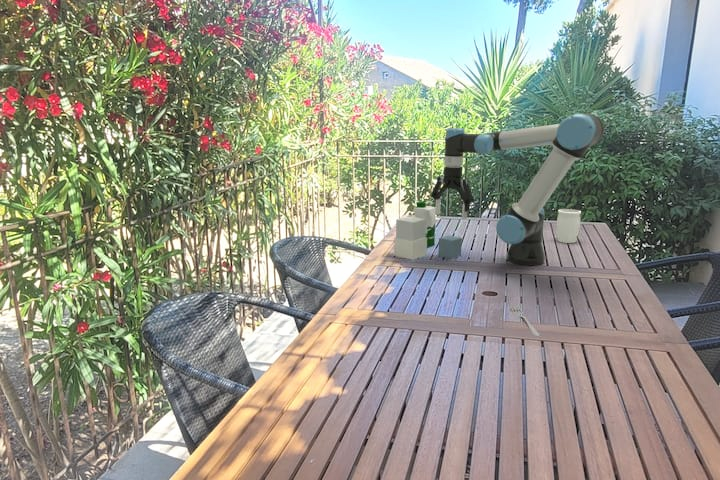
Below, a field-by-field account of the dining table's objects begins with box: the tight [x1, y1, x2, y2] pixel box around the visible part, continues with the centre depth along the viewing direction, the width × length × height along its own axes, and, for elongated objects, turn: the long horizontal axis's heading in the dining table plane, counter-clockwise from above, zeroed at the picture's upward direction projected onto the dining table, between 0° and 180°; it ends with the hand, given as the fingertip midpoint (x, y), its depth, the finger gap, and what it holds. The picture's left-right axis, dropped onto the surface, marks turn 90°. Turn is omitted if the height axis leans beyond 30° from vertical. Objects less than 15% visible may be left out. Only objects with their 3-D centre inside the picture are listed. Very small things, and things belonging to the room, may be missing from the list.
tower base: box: [393, 236, 428, 260], centre depth 221 cm, size 10×10×8 cm
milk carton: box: [413, 201, 437, 249], centre depth 236 cm, size 9×9×20 cm
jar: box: [556, 208, 582, 244], centre depth 244 cm, size 11×10×15 cm
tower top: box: [395, 216, 426, 241], centre depth 219 cm, size 9×9×8 cm
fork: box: [510, 303, 540, 337], centre depth 151 cm, size 3×24×2 cm, turn 2°
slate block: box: [437, 235, 463, 260], centre depth 220 cm, size 7×7×8 cm
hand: (450, 216), depth 217 cm, fingers open, 13 cm apart
